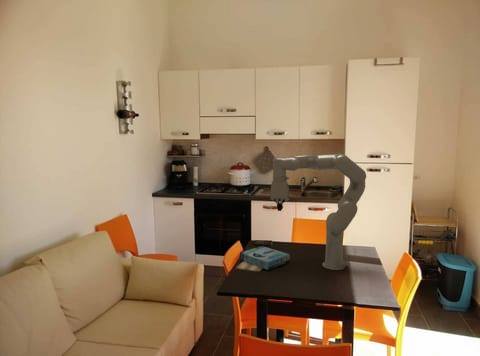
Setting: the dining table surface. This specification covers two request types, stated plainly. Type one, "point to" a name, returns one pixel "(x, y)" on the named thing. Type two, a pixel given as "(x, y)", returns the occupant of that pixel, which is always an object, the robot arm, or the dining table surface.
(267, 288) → the dining table surface
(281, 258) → the gum box
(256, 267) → the board
